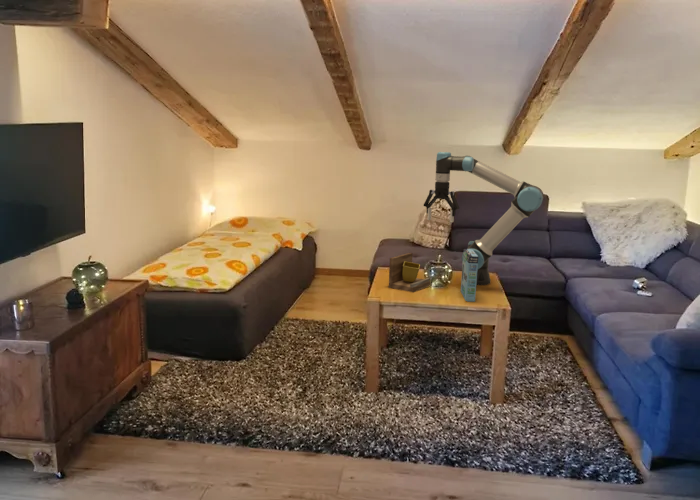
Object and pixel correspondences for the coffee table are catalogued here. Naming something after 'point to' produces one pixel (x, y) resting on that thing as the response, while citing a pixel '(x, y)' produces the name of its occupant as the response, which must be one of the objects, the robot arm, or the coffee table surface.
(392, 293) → the coffee table surface
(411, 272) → the flower pot
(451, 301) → the coffee table surface
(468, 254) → the blue cardboard box
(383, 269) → the coffee table surface
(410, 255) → the wooden shelf
